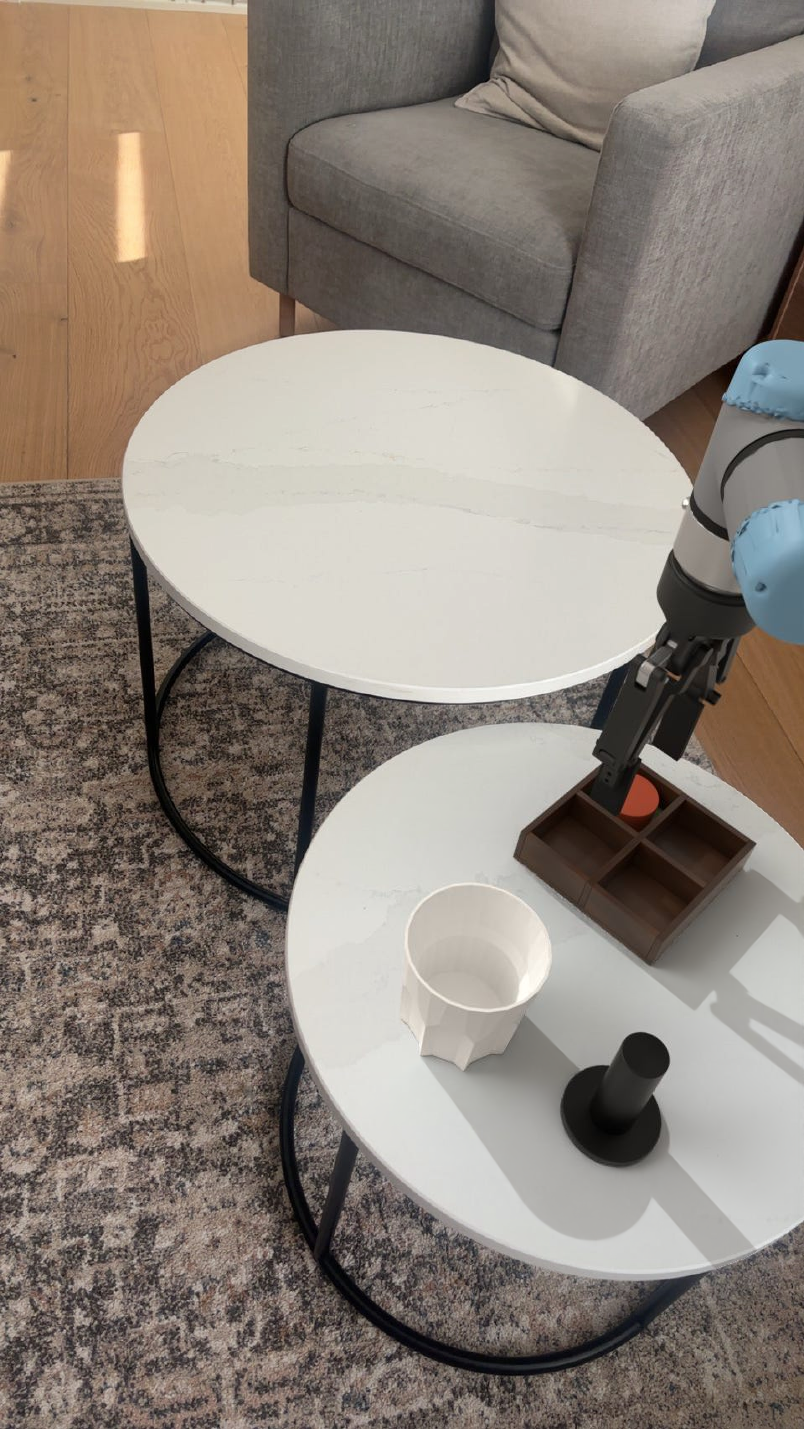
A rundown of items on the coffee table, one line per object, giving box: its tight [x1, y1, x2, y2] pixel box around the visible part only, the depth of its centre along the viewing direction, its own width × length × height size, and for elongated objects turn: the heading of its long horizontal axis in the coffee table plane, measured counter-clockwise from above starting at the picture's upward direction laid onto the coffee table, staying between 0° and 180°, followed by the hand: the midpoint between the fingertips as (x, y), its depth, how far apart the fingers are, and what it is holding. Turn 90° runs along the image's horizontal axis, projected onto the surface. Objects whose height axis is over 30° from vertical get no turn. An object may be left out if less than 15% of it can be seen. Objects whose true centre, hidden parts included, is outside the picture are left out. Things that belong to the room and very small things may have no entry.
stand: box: [559, 1031, 671, 1168], centre depth 73 cm, size 7×7×9 cm
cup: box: [398, 881, 553, 1072], centre depth 77 cm, size 10×10×10 cm
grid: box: [512, 761, 758, 967], centre depth 91 cm, size 14×14×4 cm
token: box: [616, 774, 659, 832], centre depth 95 cm, size 5×5×2 cm
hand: (636, 776), depth 92 cm, fingers open, 8 cm apart
